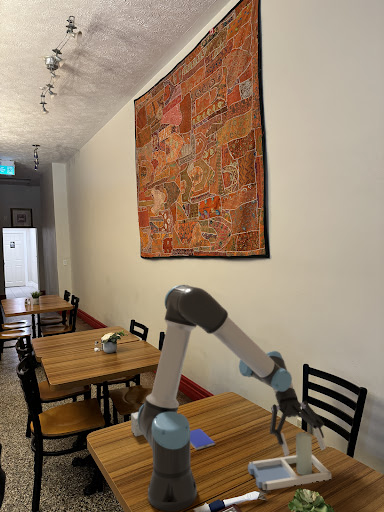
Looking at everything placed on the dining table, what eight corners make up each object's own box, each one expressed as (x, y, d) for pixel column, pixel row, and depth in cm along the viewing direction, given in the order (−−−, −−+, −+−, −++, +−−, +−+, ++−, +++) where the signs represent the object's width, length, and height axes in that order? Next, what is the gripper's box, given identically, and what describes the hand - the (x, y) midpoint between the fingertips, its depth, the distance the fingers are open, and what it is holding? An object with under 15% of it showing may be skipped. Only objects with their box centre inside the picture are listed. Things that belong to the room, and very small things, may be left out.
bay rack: (260, 491, 113) (260, 485, 113) (246, 468, 125) (246, 462, 125) (331, 479, 118) (331, 473, 118) (311, 458, 130) (311, 452, 130)
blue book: (182, 432, 148) (196, 447, 137) (200, 428, 152) (215, 441, 141) (182, 436, 148) (196, 451, 137) (200, 431, 152) (215, 445, 141)
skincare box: (135, 437, 148) (134, 419, 148) (131, 430, 153) (130, 413, 153) (149, 433, 151) (149, 415, 150) (144, 427, 156) (144, 410, 156)
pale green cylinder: (307, 477, 119) (306, 441, 119) (293, 471, 123) (293, 435, 123) (314, 471, 123) (314, 436, 122) (301, 465, 126) (300, 430, 126)
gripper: (310, 391, 143) (333, 450, 128) (250, 399, 137) (268, 460, 123) (317, 383, 137) (343, 442, 123) (256, 390, 132) (275, 453, 118)
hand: (305, 451), depth 123 cm, fingers open, 13 cm apart
